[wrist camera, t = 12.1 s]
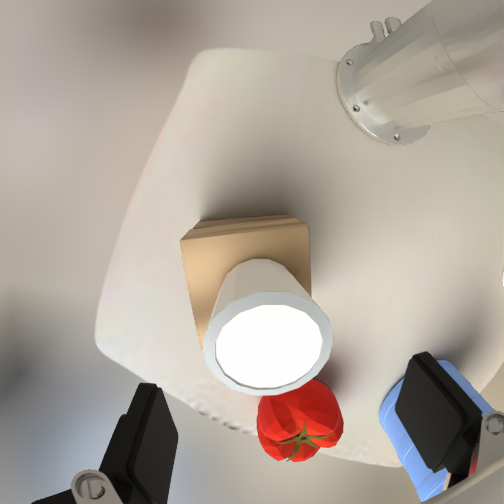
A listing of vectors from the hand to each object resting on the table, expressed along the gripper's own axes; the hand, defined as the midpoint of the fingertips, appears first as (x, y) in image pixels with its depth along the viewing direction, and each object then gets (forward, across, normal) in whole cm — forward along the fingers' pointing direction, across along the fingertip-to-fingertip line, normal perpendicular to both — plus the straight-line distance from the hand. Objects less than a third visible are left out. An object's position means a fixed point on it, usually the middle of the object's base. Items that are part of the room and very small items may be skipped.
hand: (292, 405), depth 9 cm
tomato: (+21, -4, +20) cm, 29 cm away
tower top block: (+16, +1, 0) cm, 16 cm away
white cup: (+12, 0, +1) cm, 12 cm away
